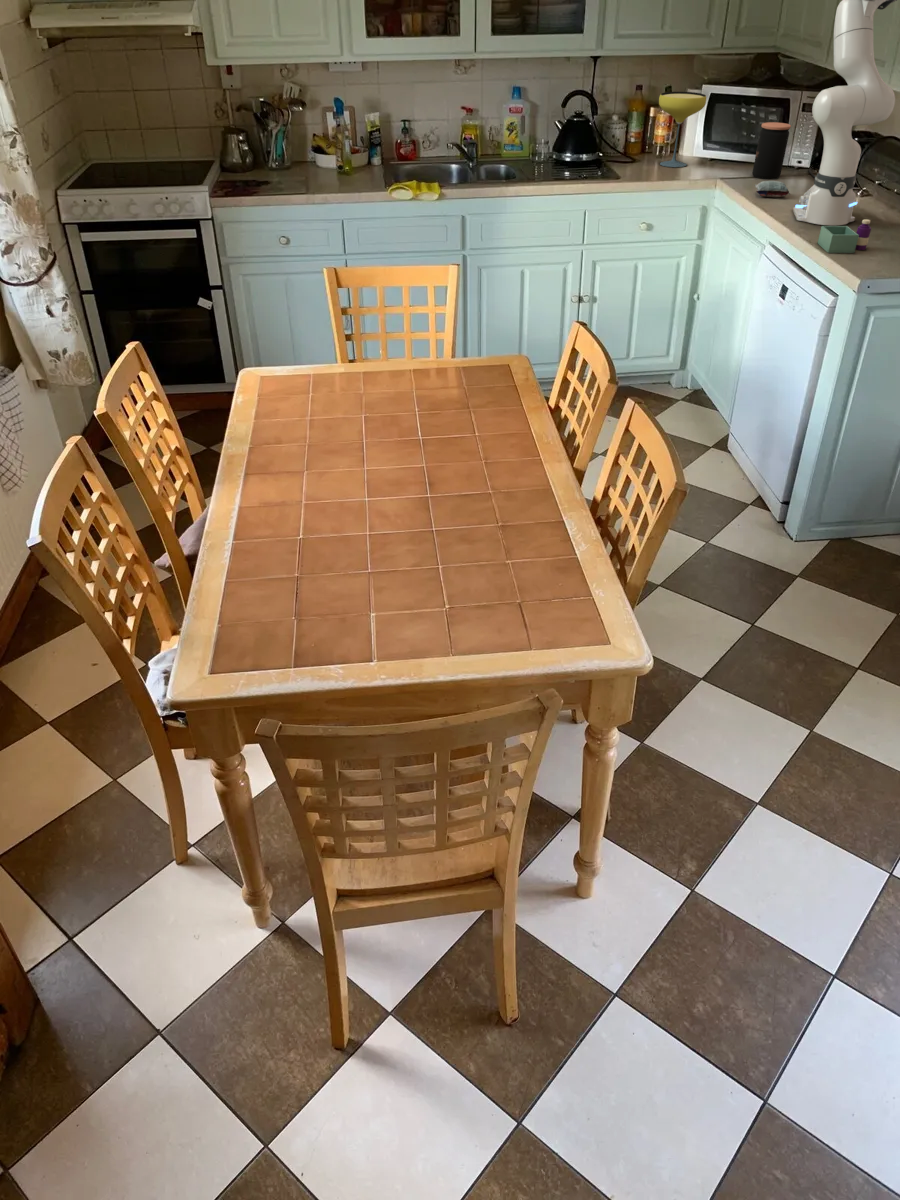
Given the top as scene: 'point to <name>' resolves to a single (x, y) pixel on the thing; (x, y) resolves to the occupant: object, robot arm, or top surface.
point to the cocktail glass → (680, 113)
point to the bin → (838, 239)
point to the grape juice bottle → (863, 235)
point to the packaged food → (772, 189)
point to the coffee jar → (771, 150)
